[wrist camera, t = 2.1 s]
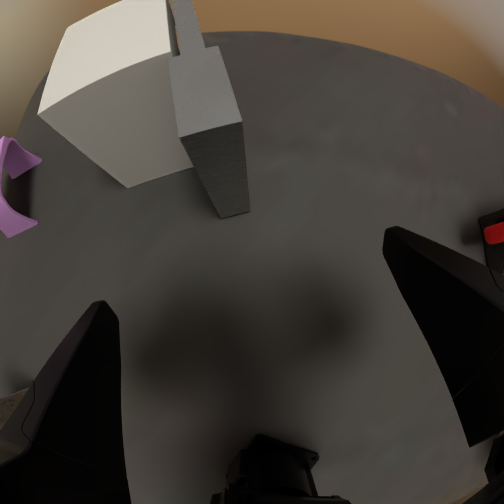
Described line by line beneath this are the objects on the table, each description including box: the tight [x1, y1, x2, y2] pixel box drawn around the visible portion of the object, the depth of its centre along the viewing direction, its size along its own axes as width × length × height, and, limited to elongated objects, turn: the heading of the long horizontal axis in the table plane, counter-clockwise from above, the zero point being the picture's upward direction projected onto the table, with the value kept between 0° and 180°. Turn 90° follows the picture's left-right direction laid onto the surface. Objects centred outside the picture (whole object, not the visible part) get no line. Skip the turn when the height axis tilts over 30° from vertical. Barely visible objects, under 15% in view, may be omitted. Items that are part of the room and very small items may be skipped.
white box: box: [38, 0, 194, 188], centre depth 17 cm, size 11×8×13 cm
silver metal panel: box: [168, 0, 250, 218], centre depth 16 cm, size 15×2×12 cm, turn 14°
